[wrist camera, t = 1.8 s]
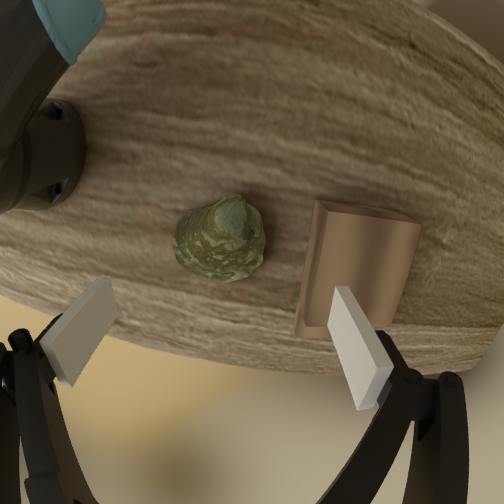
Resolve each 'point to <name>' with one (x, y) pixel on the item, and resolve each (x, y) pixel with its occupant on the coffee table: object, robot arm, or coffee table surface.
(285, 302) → the coffee table surface
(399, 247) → the block
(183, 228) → the seashell
